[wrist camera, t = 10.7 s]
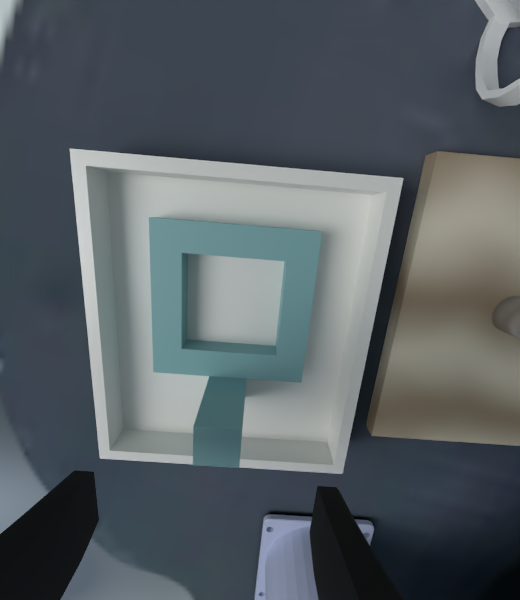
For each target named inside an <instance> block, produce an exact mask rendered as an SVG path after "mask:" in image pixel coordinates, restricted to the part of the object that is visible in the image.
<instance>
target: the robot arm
mask: <svg viewBox="0 0 520 600" xmlns="http://www.w3.org/2000/svg"><path fill="white" fill-rule="evenodd" d="M98 520H99V517H98V508H97V498H96V488H95V479H94V472H88V471H74V472H72V473H71V474H70V475H69V476H68V477H66V478H65V479H64V480H63V481H62V482H61V483H59V484H58V485H57V486H56V487H55V488H54V489H52V490H51V491H50V492H49V493H48V494H47V495H46V496H44V497H43V498H42V499H41V500H40V501H39V502H38V503H36V504H35V505H34V506H33V507H32V508H31V509H29V511H27V512H26V513H25V514H24V515H22V516H21V517H20V518H19V519H18V520H17V521H15V522H14V523H13V524H12V525H11V526H10V527H8V528H7V529H6V530H5V531H3V532H2V533H1V534H0V600H60V599H61V597H62V596H63V594H64V592H65V590H66V588H67V586H68V584H69V582H70V581H71V579H72V577H73V575H74V573H75V571H76V569H77V567H78V566H79V564H80V562H81V560H82V558H83V555H84V553H85V551H86V549H87V546H88V544H89V542H90V539H91V537H92V535H93V532H94V530H95V527H96V525H97V523H98ZM373 532H374V527H373V524H372V522H371V521H369V520H358V519H354V517H353V516H352V514H351V512H350V510H349V508H348V507H347V505H346V503H345V501H344V499H343V497H342V495H341V493H340V492H339V490H338V489H337V488H336V487H322V486H318V487H317V492H316V498H315V504H314V509H313V515H312V517H309V516H292V515H275V514H268V515H266V516H265V517H264V519H263V528H262V537H261V545H260V554H259V563H258V572H257V581H256V589H255V600H404V599H403V597H402V596H401V594H400V593H399V591H398V590H397V588H396V587H395V585H394V584H393V582H392V581H391V579H390V577H389V576H388V574H387V573H386V571H385V569H384V568H383V566H382V565H381V563H380V561H379V560H378V558H377V557H376V555H375V553H374V552H373V550H372V548H371V547H370V543H371V540H372V536H373Z"/></svg>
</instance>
